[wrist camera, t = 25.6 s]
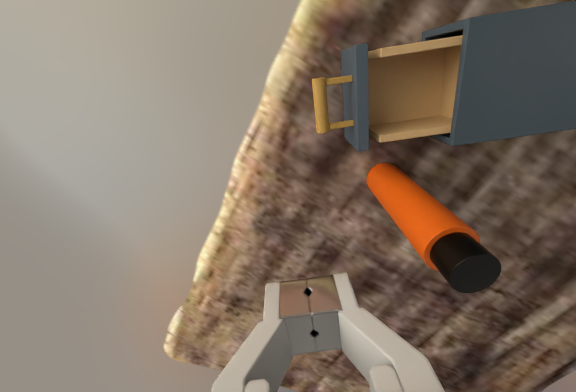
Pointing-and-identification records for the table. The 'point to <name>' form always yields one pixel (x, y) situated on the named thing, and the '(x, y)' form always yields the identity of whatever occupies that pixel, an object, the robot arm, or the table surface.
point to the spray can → (434, 231)
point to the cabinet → (513, 74)
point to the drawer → (393, 91)
